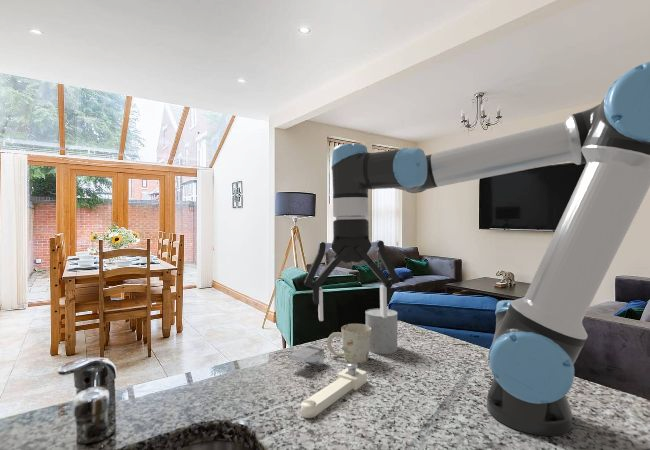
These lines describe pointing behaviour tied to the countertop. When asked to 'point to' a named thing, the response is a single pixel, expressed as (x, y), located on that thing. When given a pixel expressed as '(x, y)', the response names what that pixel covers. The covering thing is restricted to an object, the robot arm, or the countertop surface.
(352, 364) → the pintle
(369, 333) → the mug
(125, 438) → the countertop surface
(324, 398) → the link
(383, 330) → the gray cylinder
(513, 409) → the robot arm
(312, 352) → the keeper
